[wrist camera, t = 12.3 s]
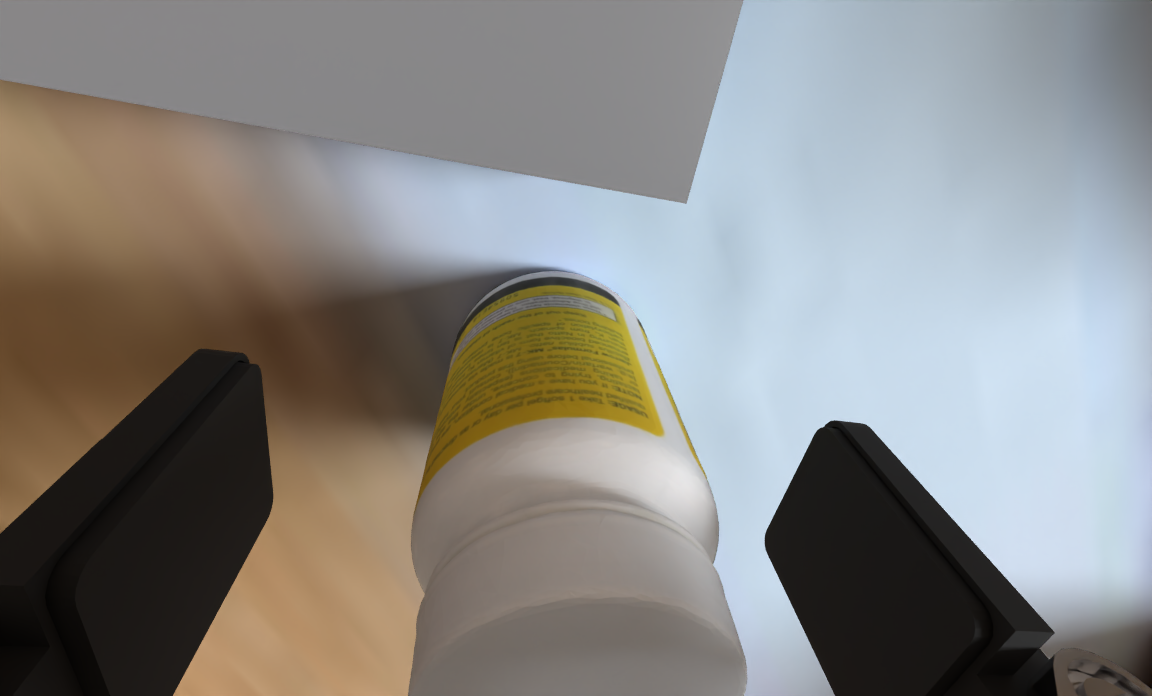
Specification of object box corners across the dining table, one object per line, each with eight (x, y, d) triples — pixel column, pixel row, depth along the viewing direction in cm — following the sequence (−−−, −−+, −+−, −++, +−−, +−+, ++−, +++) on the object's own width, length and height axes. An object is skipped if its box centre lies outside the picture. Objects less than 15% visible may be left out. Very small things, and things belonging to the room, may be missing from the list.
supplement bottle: (415, 353, 13) (272, 724, 6) (557, 224, 12) (602, 486, 5) (548, 461, 15) (567, 844, 8) (682, 359, 14) (857, 698, 7)
